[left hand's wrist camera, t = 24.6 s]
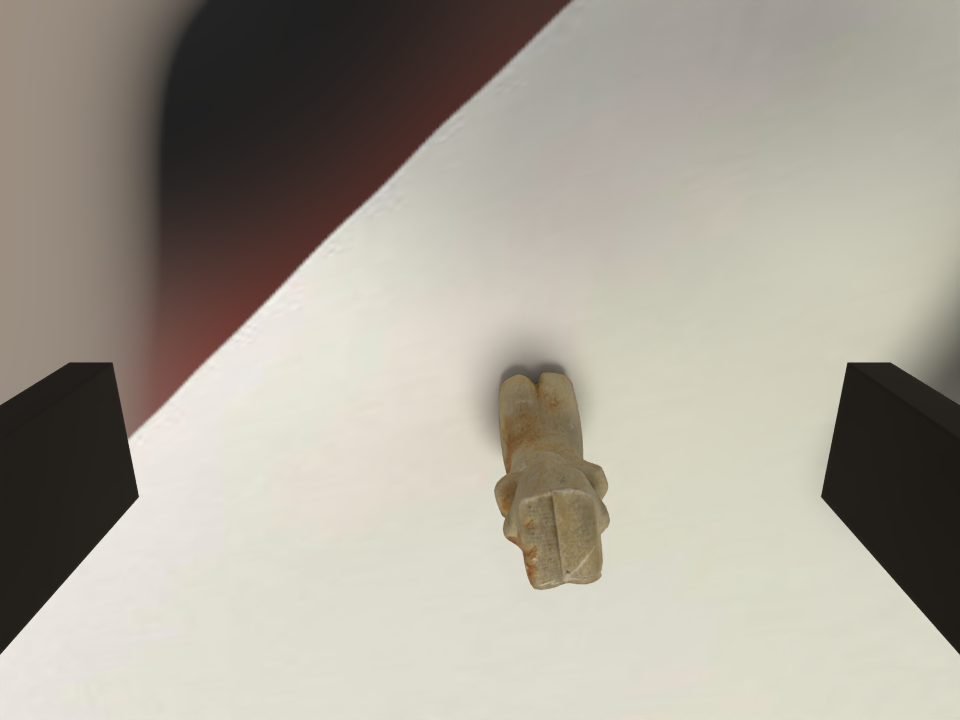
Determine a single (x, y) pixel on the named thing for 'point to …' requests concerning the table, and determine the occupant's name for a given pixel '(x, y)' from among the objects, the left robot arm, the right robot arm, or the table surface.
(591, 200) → the table surface
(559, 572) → the sculpture
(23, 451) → the left robot arm
